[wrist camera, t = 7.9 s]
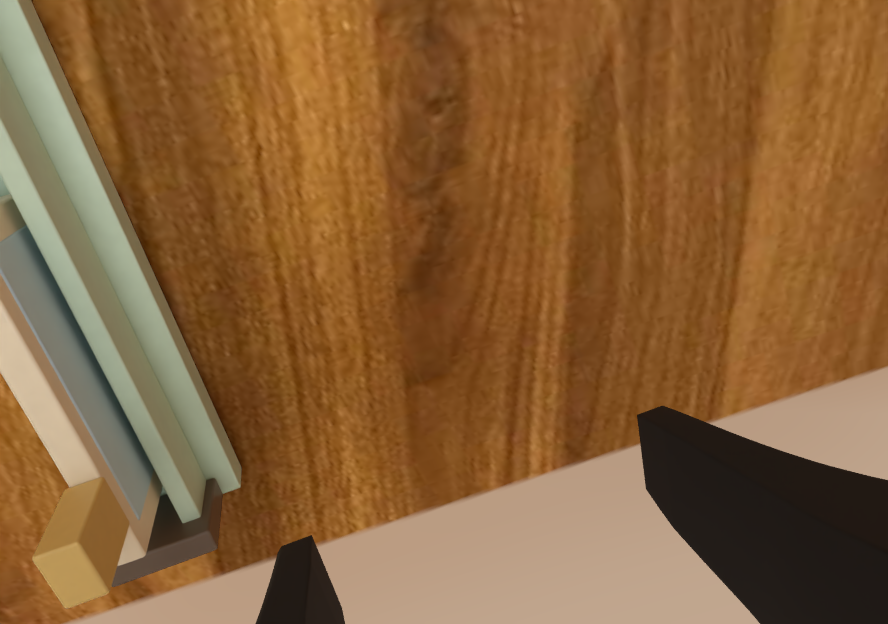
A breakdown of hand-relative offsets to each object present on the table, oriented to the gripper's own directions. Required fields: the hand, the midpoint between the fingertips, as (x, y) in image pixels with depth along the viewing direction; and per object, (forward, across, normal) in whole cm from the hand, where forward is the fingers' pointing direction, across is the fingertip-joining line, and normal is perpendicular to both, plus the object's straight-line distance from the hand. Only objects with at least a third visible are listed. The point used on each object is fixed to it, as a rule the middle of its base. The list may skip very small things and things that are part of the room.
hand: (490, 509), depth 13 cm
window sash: (+9, +9, -3) cm, 13 cm away
